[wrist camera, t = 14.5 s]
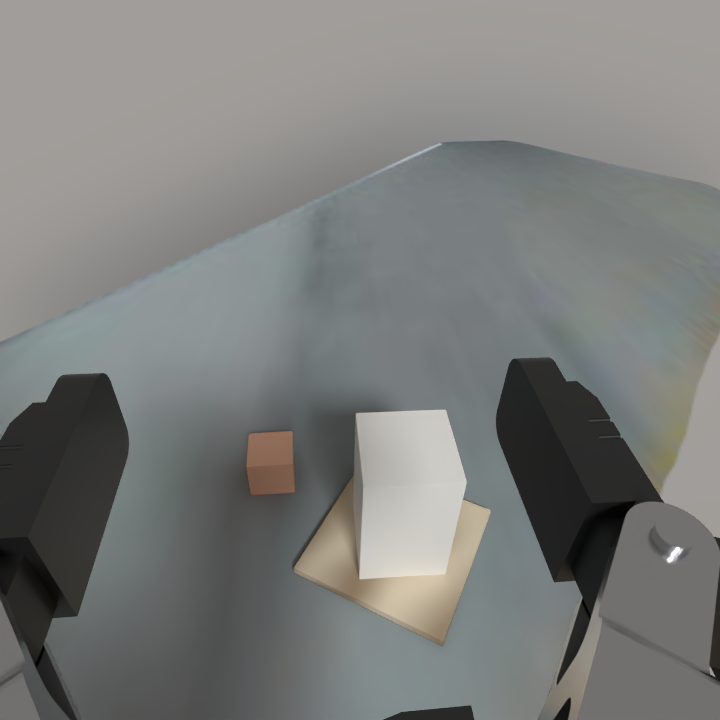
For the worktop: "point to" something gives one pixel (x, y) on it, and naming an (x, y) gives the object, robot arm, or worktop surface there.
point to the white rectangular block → (405, 493)
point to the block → (271, 463)
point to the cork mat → (394, 594)
